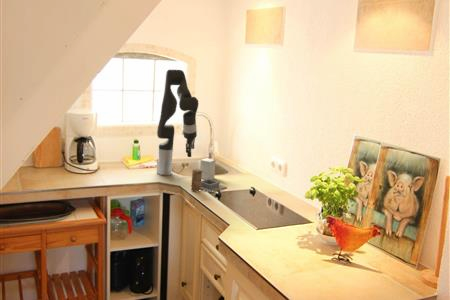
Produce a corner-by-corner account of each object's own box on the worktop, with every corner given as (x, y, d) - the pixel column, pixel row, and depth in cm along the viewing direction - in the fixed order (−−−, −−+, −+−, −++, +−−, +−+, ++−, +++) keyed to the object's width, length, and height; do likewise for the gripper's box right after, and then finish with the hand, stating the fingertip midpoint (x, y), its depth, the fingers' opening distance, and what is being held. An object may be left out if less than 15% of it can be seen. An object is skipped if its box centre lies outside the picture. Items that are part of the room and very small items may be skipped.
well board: (190, 186, 292) (191, 181, 292) (207, 181, 305) (208, 176, 304) (210, 192, 283) (210, 187, 282) (226, 188, 295) (227, 182, 294)
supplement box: (214, 178, 314) (216, 159, 311) (208, 180, 308) (210, 161, 305) (205, 175, 318) (206, 157, 315) (199, 178, 311) (200, 159, 309)
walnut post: (191, 190, 284) (192, 169, 281) (195, 189, 287) (197, 168, 284) (196, 192, 282) (197, 171, 279) (200, 191, 285) (201, 170, 282)
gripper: (186, 122, 274) (187, 145, 283) (180, 135, 263) (182, 159, 272) (198, 123, 273) (199, 146, 282) (193, 136, 262) (194, 160, 271)
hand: (190, 152), depth 277 cm, fingers open, 8 cm apart
